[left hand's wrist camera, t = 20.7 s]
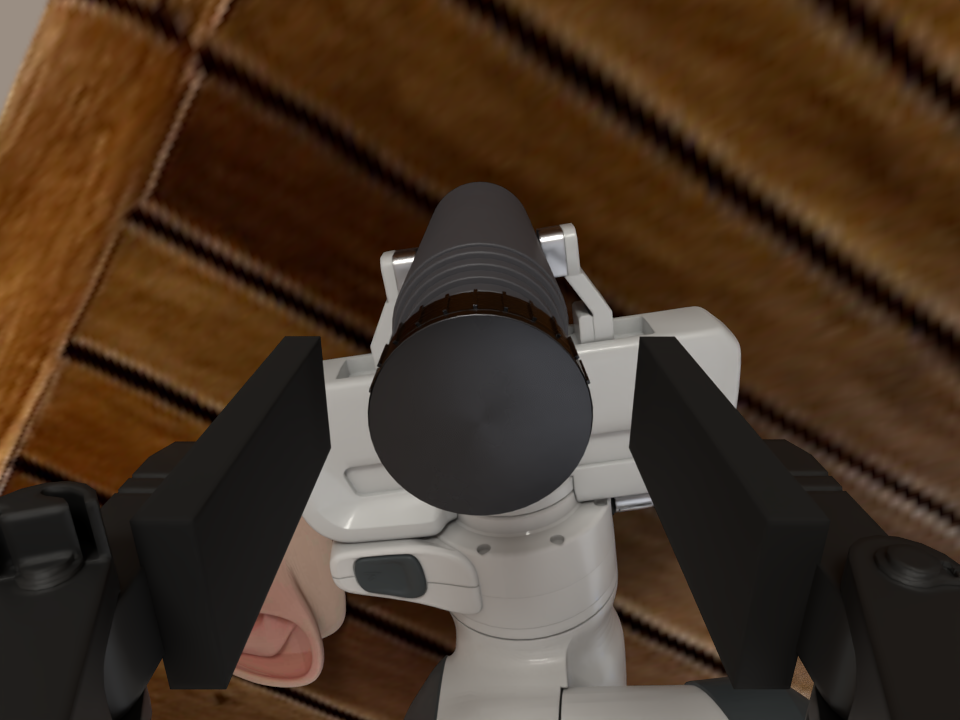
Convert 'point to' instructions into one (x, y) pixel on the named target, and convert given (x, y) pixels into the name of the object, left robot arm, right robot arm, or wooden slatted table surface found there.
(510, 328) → the cap
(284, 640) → the anatomical model
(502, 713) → the right robot arm
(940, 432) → the wooden slatted table surface
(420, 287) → the bottle
